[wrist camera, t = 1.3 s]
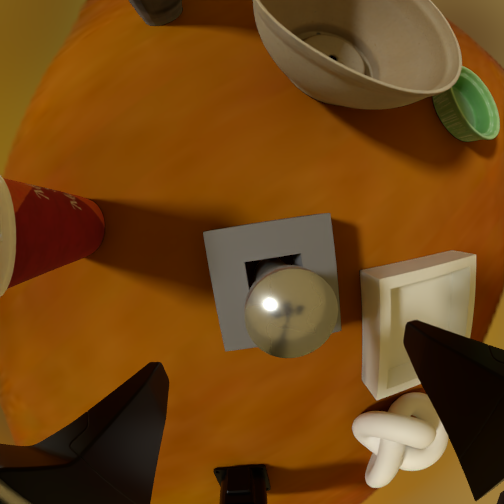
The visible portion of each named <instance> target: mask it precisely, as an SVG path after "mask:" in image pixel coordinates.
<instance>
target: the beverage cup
mask: <svg viewBox="0 0 504 504" xmlns="http://www.w3.org/2000/svg"><path fill="white" fill-rule="evenodd" d="M129 2H130V3H131V4H132V6H133V7H134V8H135V10H136V11H137V13H138V14H139V15H140V17H142V18H143V20H144V21H145V23H146V24H148V25H150V26H159V25H164V24H167V23H169V22H171V21H173V20H175V19H176V18H177V17H178V16H179V15H180V14H181V13H182V10H183V8H182V0H129Z"/></svg>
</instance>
